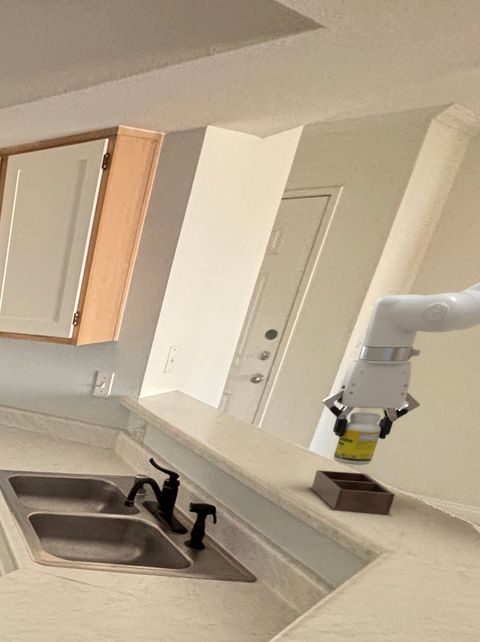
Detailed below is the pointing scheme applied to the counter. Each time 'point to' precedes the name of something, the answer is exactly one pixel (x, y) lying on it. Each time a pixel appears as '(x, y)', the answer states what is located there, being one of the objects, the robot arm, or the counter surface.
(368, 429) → the pill bottle
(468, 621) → the counter surface
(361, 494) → the divided box
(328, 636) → the counter surface
